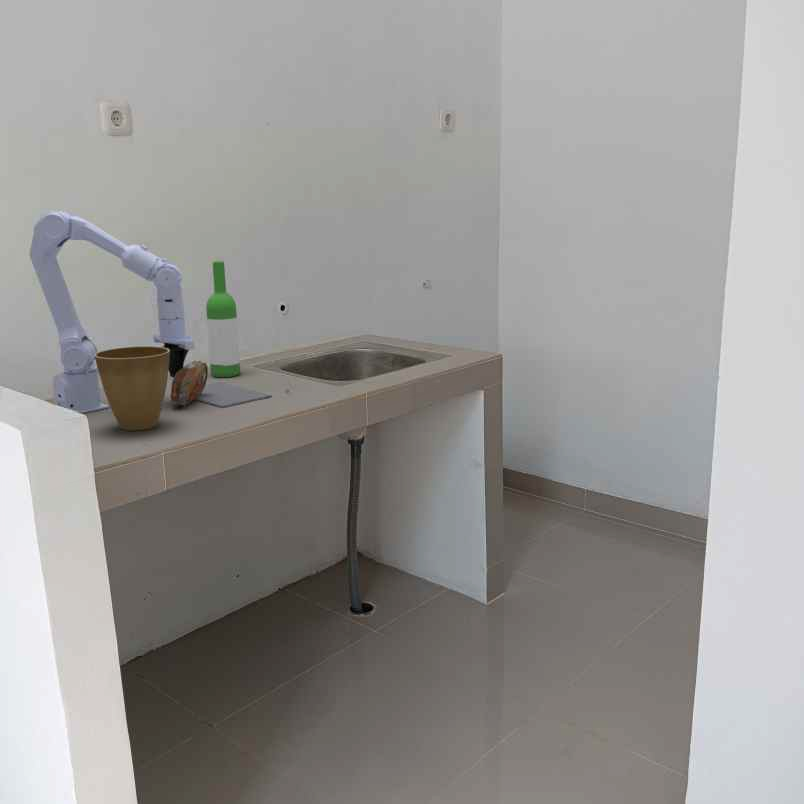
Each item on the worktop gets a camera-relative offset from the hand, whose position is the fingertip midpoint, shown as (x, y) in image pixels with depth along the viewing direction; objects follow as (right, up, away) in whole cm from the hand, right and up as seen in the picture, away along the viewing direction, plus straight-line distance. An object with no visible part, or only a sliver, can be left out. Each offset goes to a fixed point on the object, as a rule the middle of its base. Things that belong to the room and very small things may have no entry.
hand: (176, 376), depth 198 cm
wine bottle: (+5, +1, +31) cm, 32 cm away
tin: (+2, -5, +3) cm, 6 cm away
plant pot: (-3, -11, -17) cm, 20 cm away
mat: (+8, -4, +10) cm, 13 cm away
